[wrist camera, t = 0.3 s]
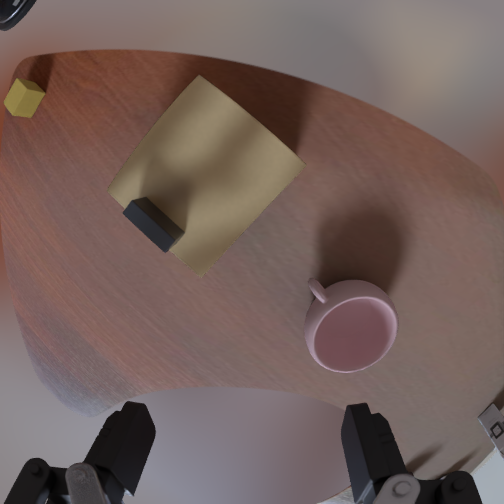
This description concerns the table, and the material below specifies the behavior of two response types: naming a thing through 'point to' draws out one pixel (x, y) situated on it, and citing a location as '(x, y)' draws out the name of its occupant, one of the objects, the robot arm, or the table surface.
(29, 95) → the block
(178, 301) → the table surface
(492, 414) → the ink box
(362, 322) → the mug
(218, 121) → the slide door
